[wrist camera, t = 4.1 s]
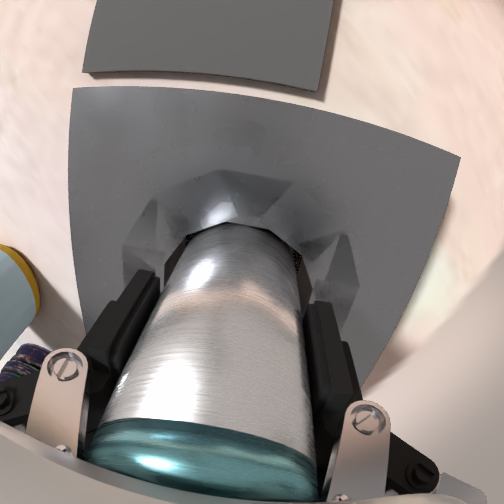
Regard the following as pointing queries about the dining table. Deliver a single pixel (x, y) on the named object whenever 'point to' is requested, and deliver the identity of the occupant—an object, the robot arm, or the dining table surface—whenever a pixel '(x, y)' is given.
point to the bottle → (15, 297)
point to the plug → (219, 378)
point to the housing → (253, 197)
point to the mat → (212, 38)
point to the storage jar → (24, 361)
